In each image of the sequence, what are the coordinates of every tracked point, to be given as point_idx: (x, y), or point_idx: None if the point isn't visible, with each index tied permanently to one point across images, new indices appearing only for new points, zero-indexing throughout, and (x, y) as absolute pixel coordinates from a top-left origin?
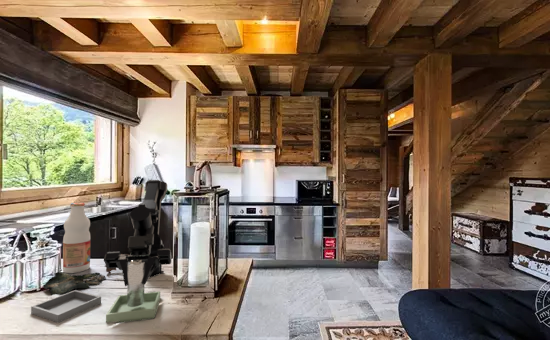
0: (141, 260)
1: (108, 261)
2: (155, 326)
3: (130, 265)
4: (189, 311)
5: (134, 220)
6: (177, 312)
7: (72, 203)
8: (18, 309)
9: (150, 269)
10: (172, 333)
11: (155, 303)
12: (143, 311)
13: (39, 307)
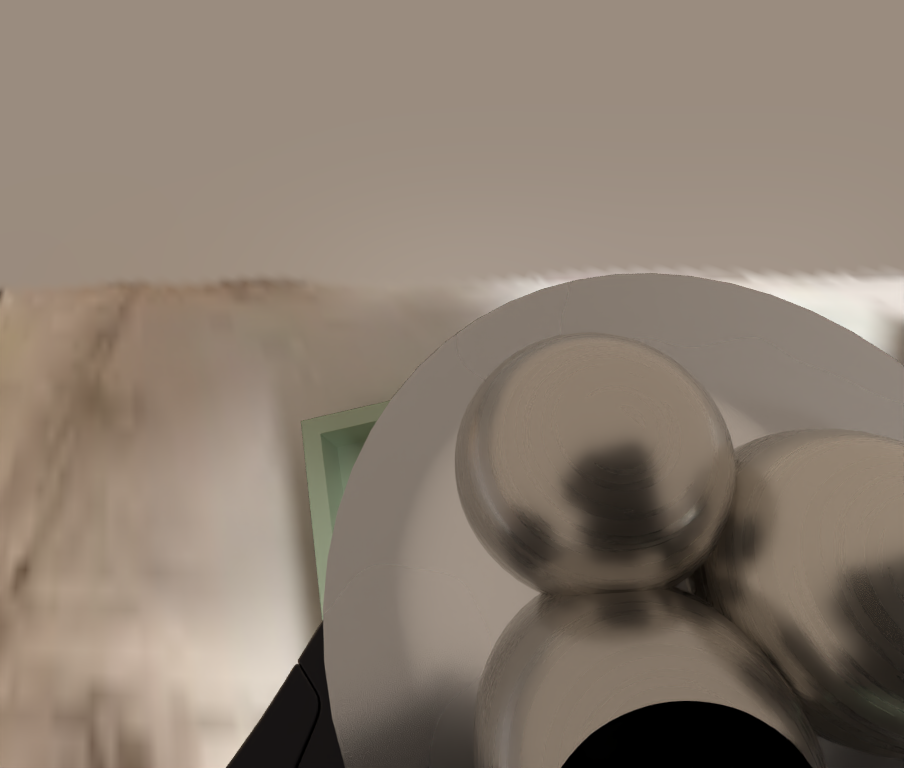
0: (503, 766)
1: None
2: (290, 350)
3: (725, 287)
4: (81, 546)
5: None
6: (172, 531)
7: None
8: None
9: (263, 740)
10: (180, 286)
11: (320, 531)
12: (382, 404)
13: None
